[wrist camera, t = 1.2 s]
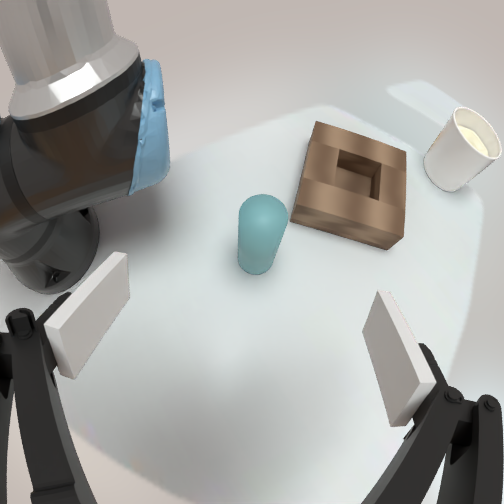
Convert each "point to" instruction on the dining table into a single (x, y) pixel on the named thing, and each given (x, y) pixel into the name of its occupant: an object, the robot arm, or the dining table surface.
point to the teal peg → (260, 232)
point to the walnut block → (352, 187)
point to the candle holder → (461, 150)
